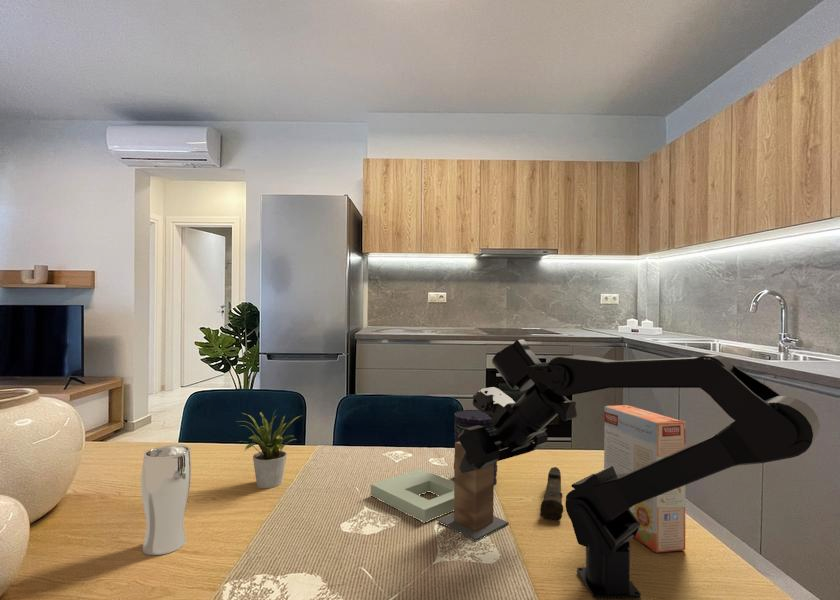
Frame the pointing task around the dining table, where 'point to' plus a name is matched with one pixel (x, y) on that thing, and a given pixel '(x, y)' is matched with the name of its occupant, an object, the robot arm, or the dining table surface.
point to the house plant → (269, 452)
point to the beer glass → (165, 497)
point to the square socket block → (416, 494)
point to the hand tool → (552, 497)
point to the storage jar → (469, 420)
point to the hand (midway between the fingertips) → (478, 464)
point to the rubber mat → (471, 533)
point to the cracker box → (639, 446)
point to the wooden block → (473, 494)
